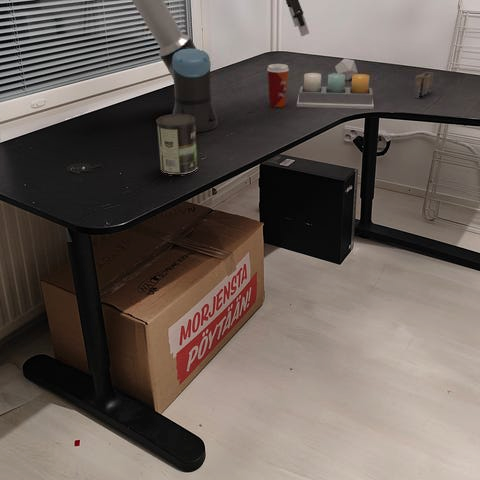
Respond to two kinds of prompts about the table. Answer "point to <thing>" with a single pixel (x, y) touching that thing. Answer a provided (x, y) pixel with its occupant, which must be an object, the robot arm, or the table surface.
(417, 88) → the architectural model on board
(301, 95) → the panel
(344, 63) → the die
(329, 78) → the teal button
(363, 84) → the orange candle
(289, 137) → the table surface
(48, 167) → the table surface
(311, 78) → the ivory button
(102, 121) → the table surface
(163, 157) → the coffee can
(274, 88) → the paper cup
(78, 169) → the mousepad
